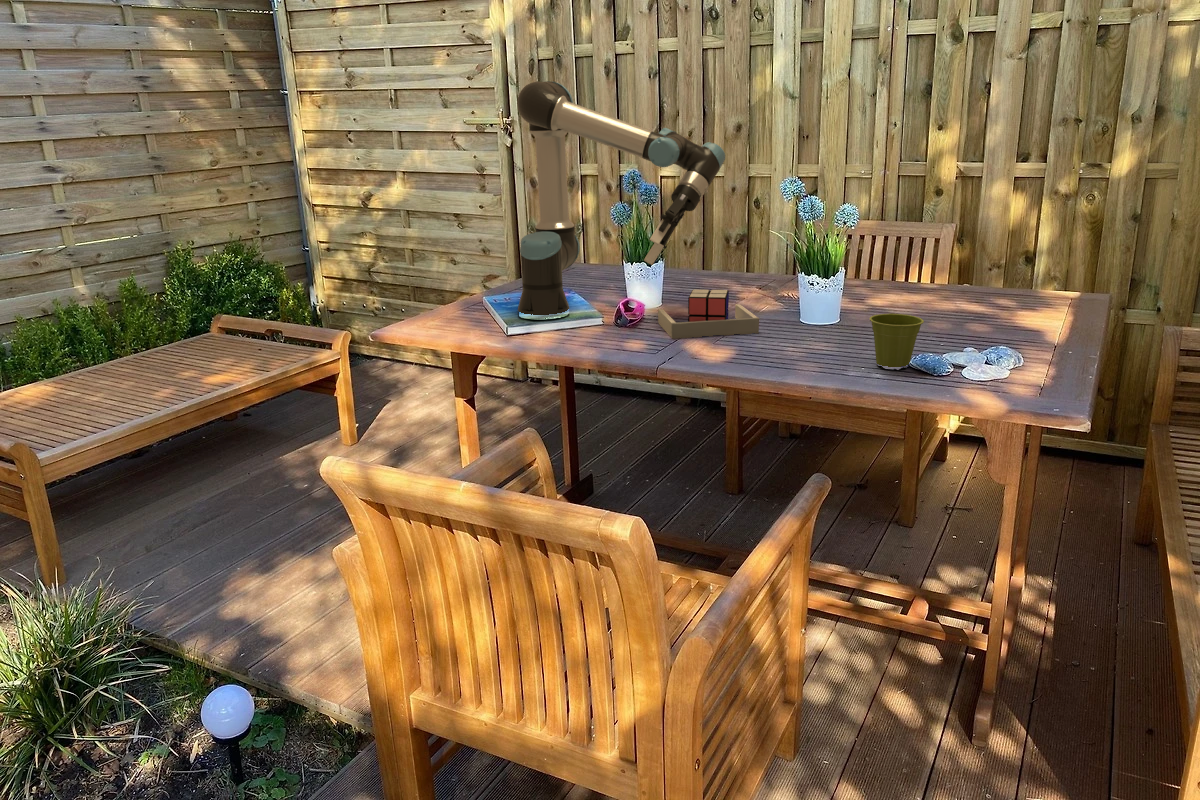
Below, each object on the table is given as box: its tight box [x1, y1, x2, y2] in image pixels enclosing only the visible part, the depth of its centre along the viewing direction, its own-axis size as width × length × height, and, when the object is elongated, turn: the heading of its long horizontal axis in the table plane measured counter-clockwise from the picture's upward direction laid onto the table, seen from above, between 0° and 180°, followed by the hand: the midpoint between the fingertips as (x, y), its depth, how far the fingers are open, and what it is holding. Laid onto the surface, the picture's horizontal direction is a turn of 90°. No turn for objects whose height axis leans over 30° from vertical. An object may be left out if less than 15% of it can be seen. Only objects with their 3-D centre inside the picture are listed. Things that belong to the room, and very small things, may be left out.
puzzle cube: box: [687, 289, 730, 322], centre depth 251 cm, size 10×10×10 cm
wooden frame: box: [657, 303, 760, 340], centre depth 253 cm, size 18×23×4 cm
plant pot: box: [868, 313, 925, 367], centre depth 214 cm, size 12×12×11 cm
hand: (650, 252), depth 252 cm, fingers open, 13 cm apart
